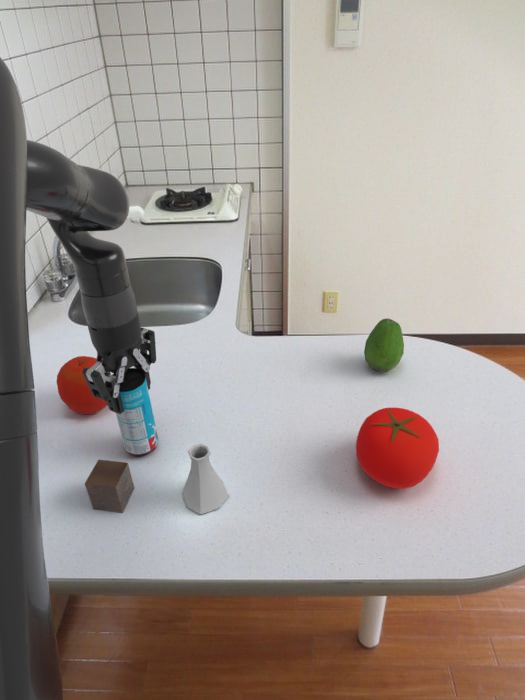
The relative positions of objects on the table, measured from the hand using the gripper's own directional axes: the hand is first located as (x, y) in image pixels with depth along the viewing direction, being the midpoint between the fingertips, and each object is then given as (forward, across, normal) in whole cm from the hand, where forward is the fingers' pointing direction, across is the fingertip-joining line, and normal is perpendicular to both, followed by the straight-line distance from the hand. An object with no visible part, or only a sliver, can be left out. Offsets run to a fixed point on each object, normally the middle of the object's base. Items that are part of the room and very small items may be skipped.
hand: (131, 399), depth 87 cm
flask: (+11, +3, +16) cm, 20 cm away
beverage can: (+11, 0, 0) cm, 11 cm away
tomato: (+11, -16, +40) cm, 45 cm away
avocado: (+11, -42, +29) cm, 53 cm away
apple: (+11, -4, -17) cm, 21 cm away
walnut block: (+11, +11, +3) cm, 16 cm away
